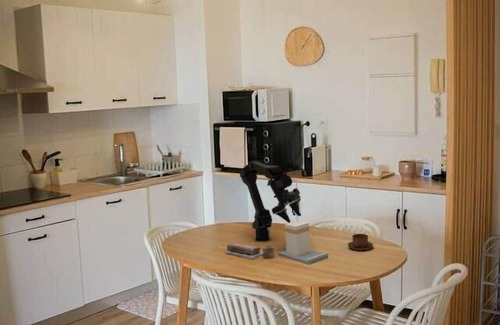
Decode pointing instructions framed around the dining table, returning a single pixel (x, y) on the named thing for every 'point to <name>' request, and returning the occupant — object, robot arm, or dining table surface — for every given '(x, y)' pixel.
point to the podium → (305, 256)
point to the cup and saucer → (360, 242)
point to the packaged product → (243, 250)
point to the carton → (297, 238)
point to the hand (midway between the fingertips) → (294, 219)
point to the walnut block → (268, 251)
